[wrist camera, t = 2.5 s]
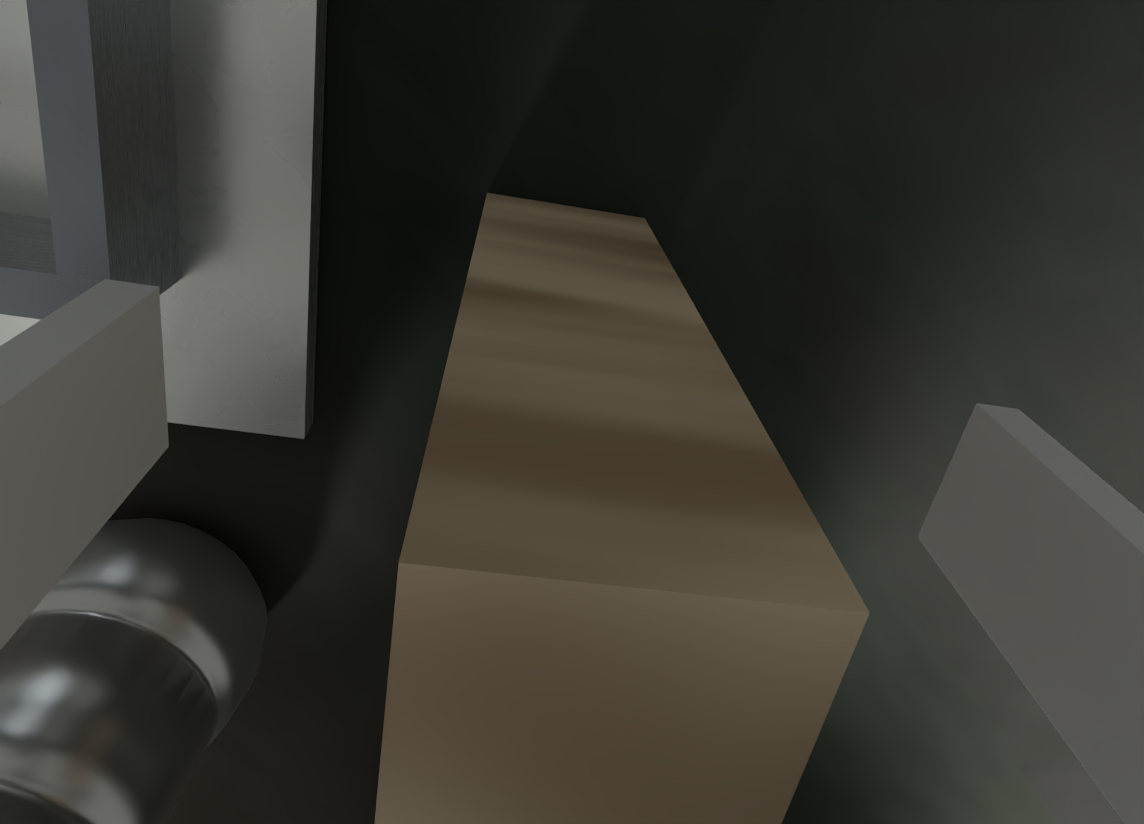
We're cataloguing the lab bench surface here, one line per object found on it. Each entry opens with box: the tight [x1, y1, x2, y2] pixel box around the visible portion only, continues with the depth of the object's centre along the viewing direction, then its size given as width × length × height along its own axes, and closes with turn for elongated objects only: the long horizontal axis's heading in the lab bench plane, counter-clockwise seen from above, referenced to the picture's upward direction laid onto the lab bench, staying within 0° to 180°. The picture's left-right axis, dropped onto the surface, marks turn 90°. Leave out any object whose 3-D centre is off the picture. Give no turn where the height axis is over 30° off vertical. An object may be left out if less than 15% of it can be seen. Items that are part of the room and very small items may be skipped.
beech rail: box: [374, 193, 869, 824], centre depth 14 cm, size 4×4×15 cm
